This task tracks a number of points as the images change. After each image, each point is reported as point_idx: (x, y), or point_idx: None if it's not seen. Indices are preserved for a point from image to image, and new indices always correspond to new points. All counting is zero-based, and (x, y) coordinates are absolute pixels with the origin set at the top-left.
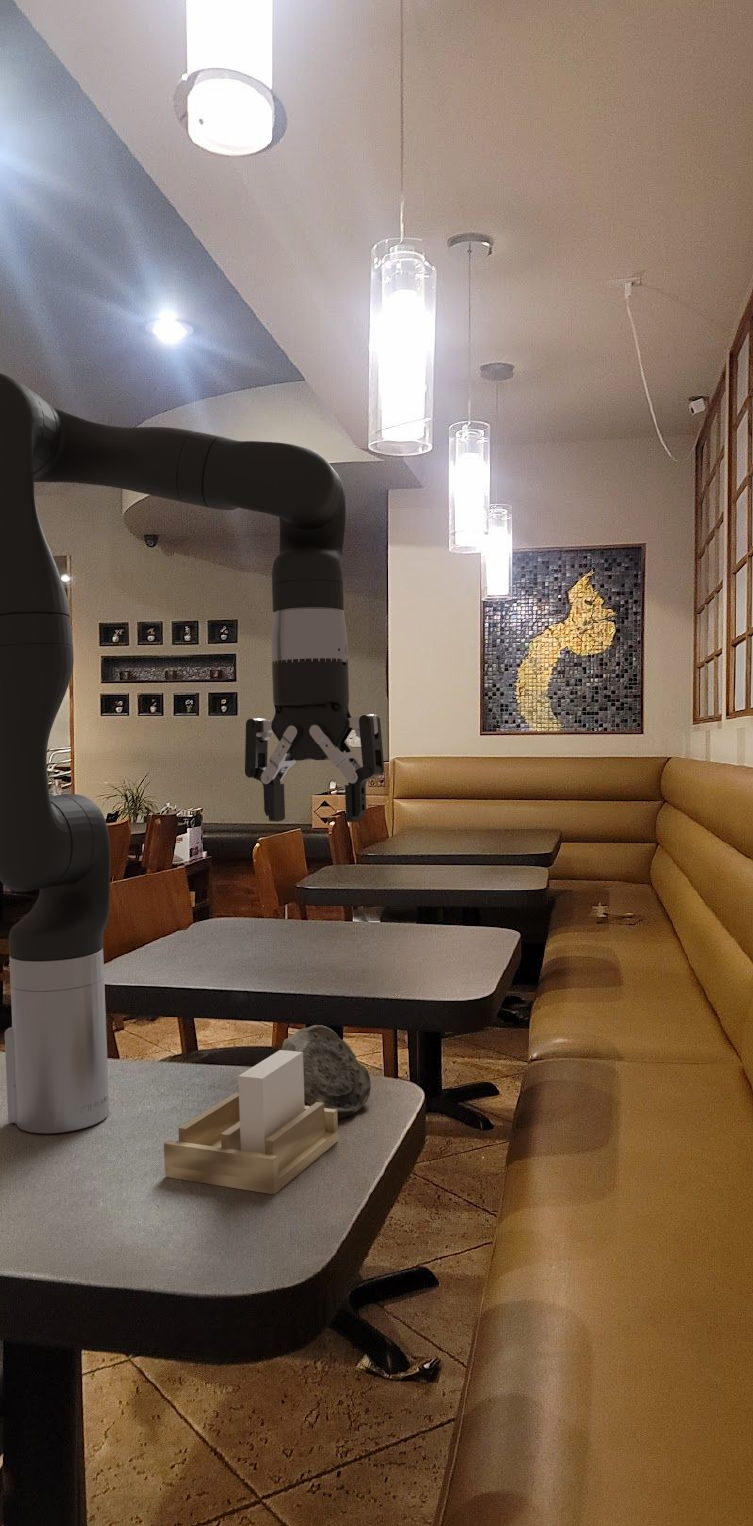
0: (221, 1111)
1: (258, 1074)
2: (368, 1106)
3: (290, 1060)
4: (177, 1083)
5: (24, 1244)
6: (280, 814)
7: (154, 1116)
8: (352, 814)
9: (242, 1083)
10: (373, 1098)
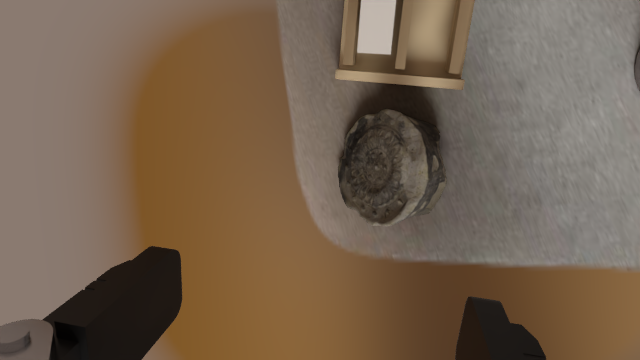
0: (456, 21)
1: None
2: None
3: (360, 14)
4: (586, 201)
5: None
6: (463, 346)
7: (572, 95)
8: (139, 254)
9: None
10: None
